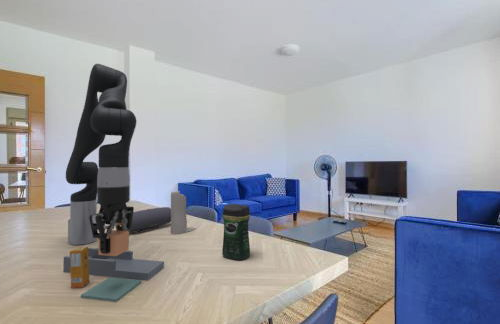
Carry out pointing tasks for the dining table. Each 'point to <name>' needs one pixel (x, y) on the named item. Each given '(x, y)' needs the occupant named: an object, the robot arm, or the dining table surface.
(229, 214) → the coffee jar
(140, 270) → the channel
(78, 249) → the supplement box
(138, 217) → the bluetooth speaker
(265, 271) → the dining table surface
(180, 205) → the candle
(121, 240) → the block
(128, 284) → the pad
